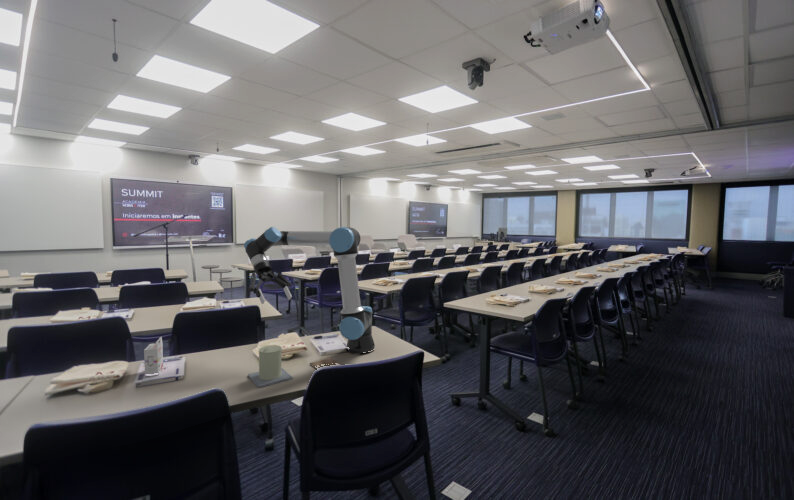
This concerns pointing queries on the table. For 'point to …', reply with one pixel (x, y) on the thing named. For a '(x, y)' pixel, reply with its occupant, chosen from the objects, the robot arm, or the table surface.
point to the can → (270, 362)
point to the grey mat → (262, 383)
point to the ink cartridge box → (154, 357)
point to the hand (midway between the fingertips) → (277, 300)
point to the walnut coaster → (324, 362)
